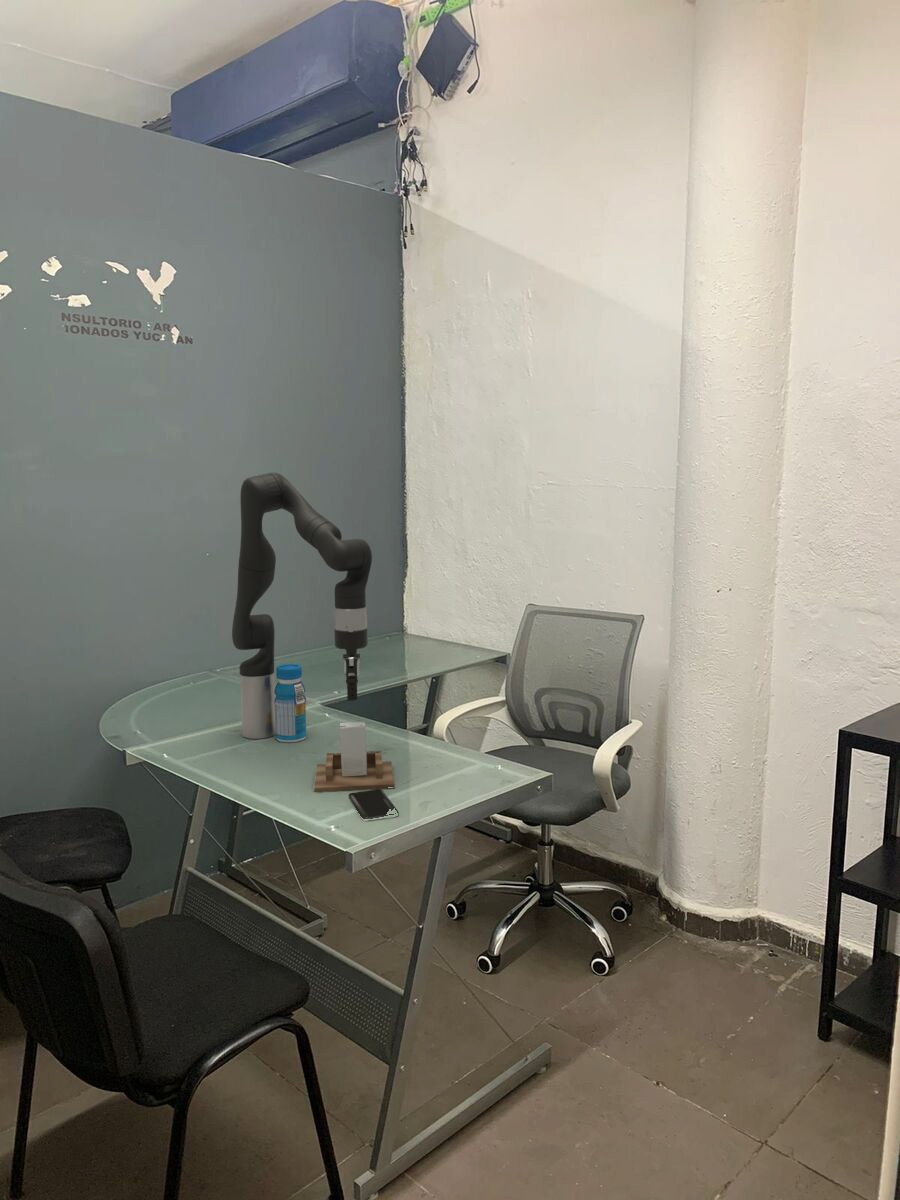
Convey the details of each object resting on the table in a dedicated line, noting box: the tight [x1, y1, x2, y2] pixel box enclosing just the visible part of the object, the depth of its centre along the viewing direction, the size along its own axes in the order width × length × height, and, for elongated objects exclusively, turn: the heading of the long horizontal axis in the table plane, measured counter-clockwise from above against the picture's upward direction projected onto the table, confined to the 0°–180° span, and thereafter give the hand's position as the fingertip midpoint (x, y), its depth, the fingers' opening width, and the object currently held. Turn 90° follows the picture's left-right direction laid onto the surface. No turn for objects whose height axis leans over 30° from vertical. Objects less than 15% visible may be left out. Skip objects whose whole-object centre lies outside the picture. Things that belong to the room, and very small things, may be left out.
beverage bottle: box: [274, 663, 307, 743], centre depth 233 cm, size 8×8×20 cm
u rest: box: [313, 750, 395, 793], centre depth 203 cm, size 16×18×4 cm
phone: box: [348, 789, 399, 819], centre depth 186 cm, size 8×1×15 cm
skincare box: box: [339, 721, 367, 777], centre depth 202 cm, size 6×4×12 cm
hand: (352, 695), depth 201 cm, fingers open, 8 cm apart
